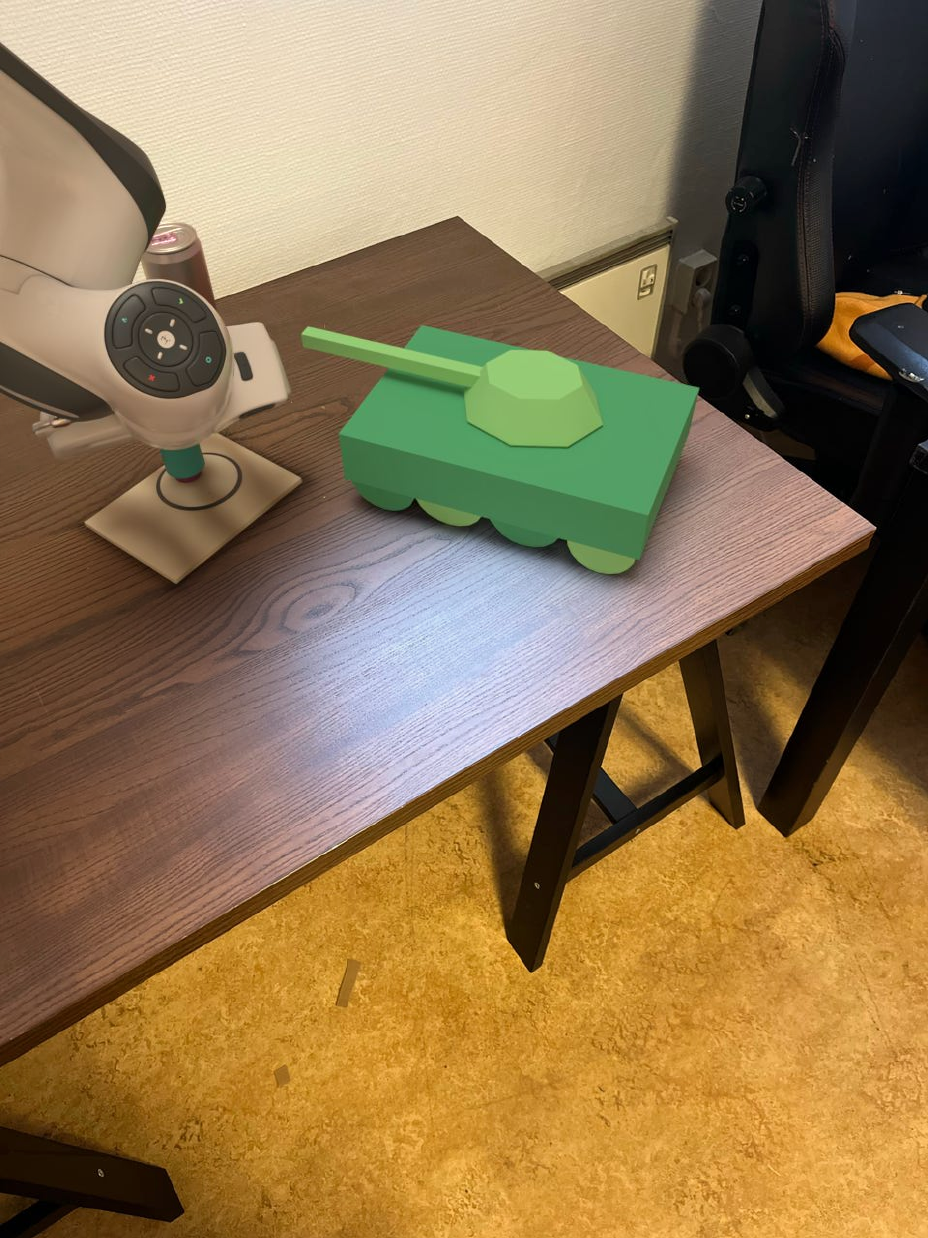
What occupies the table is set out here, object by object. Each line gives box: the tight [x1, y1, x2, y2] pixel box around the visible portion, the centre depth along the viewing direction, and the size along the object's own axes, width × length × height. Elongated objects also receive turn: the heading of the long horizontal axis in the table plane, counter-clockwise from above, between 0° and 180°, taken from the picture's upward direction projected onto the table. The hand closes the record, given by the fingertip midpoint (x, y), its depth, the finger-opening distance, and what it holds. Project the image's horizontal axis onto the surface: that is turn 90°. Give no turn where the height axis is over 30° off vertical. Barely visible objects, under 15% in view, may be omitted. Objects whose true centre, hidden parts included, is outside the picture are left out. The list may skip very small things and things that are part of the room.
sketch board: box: [83, 432, 303, 585], centre depth 87 cm, size 16×12×1 cm
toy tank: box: [300, 324, 700, 575], centre depth 85 cm, size 18×12×35 cm
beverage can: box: [140, 221, 219, 314], centre depth 95 cm, size 6×6×15 cm
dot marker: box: [158, 444, 205, 483], centre depth 85 cm, size 4×4×11 cm
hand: (170, 418), depth 85 cm, fingers closed on dot marker, 3 cm apart
